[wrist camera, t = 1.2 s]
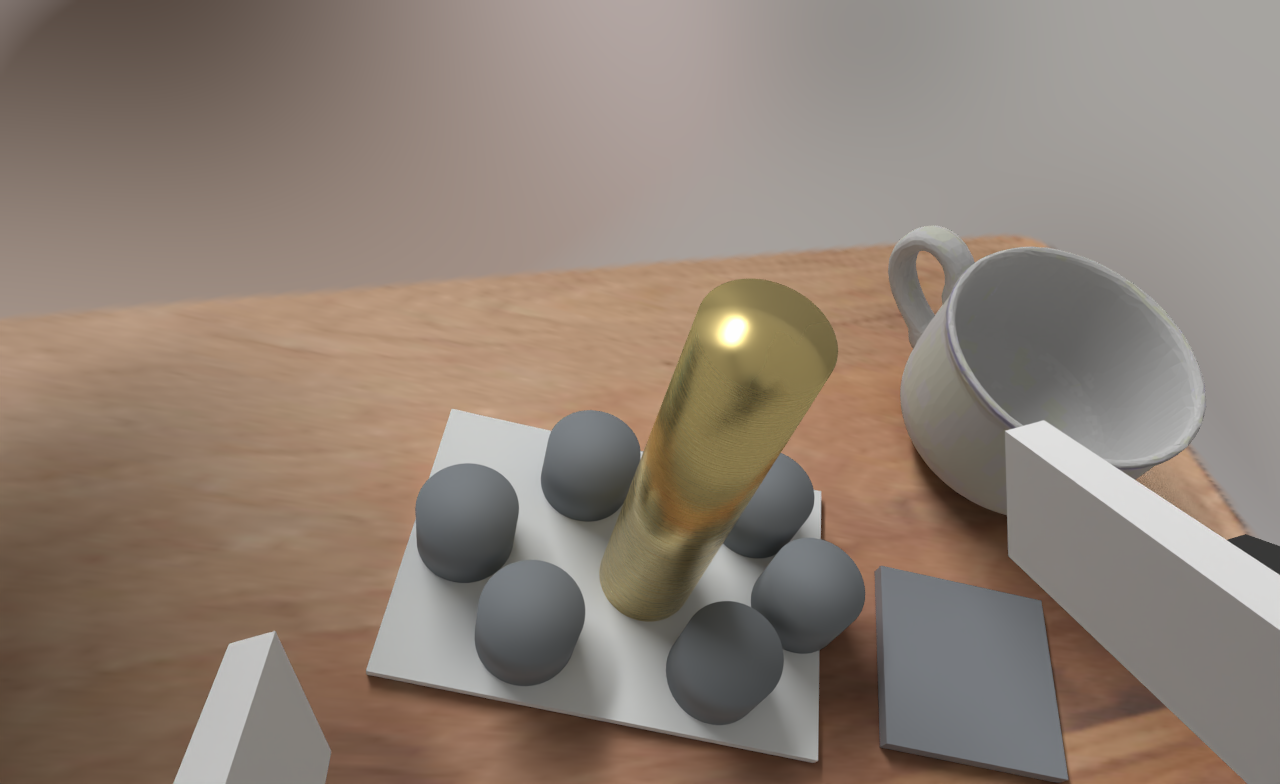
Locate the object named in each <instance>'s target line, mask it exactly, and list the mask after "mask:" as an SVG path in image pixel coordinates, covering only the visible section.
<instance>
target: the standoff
mask: <svg viewBox="0 0 1280 784" xmlns="http://www.w3.org/2000/svg"><path fill="white" fill-rule="evenodd" d="M837 356H838V346H837V340H836V336H835V333H834V331H833V328H832V326H831V325H830V323H829V321H828V320H827V318H826V317H825V315H824V314H823V313H822V312H821V311H820V309H819V308H818V307H817V306H816V305H815V304H813V303H812V302H811V301H810V300H809V299H807V298H806V297H805V296H803V295H802V294H800V293H798V292H797V291H795V290H793V289H791V288H789V287H786V286H784V285H781V284H779V283H775V282H772V281H767V280H761V279H740V280H734V281H730V282H727V283H724V284H722V285H720V286H718V287H716V288H715V289H713V290H712V291H711V292H710V293H709V294H708V295H707V296H706V297H705V298H704V299H703V301H702V303H701V304H700V307H699V309H698V312H697V314H696V317H695V319H694V322H693V325H692V327H691V330H690V332H689V335H688V338H687V340H686V343H685V345H684V348H683V351H682V353H681V356H680V358H679V361H678V364H677V366H676V369H675V371H674V374H673V376H672V379H671V382H670V384H669V387H668V389H667V392H666V395H665V397H664V400H663V402H662V405H661V408H660V410H659V413H658V415H657V418H656V421H655V423H654V426H653V428H652V431H651V433H650V436H649V439H648V441H647V444H646V446H645V449H644V452H643V454H642V457H641V459H640V462H639V465H638V467H637V470H636V472H635V475H634V478H633V480H632V483H631V485H630V488H629V490H628V493H627V496H626V498H625V501H624V503H623V506H622V509H621V511H620V514H619V516H618V519H617V522H616V524H615V527H614V529H613V532H612V535H611V537H610V540H609V542H608V545H607V547H606V550H605V553H604V555H603V558H602V560H601V564H600V571H599V576H600V583H601V587H602V590H603V592H604V594H605V596H606V598H607V599H608V601H609V602H610V603H611V604H612V605H613V606H614V607H615V608H616V609H617V610H618V611H619V612H621V613H622V614H624V615H626V616H627V617H630V618H632V619H635V620H639V621H647V622H652V621H659V620H663V619H666V618H668V617H670V616H672V615H673V614H675V613H676V612H677V611H679V610H680V608H681V607H682V606H683V605H684V603H685V602H686V600H687V599H688V597H689V596H690V594H691V593H692V591H693V589H694V588H695V586H696V585H697V583H698V582H699V580H700V579H701V577H702V575H703V574H704V572H705V571H706V569H707V568H708V566H709V564H710V563H711V561H712V560H713V558H714V557H715V555H716V553H717V552H718V550H719V549H720V547H721V546H722V544H723V542H724V541H725V539H726V538H727V536H728V535H729V533H730V531H731V530H732V528H733V527H734V525H735V524H736V522H737V520H738V519H739V517H740V516H741V514H742V513H743V511H744V509H745V508H746V506H747V505H748V503H749V502H750V500H751V499H752V497H753V495H754V494H755V492H756V491H757V489H758V488H759V486H760V484H761V483H762V481H763V480H764V478H765V477H766V475H767V473H768V472H769V470H770V469H771V467H772V466H773V464H774V462H775V461H776V459H777V458H778V456H779V455H780V453H781V451H782V450H783V448H784V447H785V445H786V444H787V442H788V440H789V439H790V437H791V436H792V434H793V433H794V431H795V429H796V428H797V426H798V425H799V423H800V422H801V420H802V419H803V417H804V415H805V414H806V412H807V411H808V409H809V408H810V406H811V404H812V403H813V401H814V400H815V398H816V397H817V395H818V393H819V392H820V390H821V389H822V387H823V386H824V384H825V382H826V381H827V379H828V378H829V376H830V375H831V373H832V371H833V369H834V367H835V365H836V361H837Z"/></svg>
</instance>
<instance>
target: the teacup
mask: <svg viewBox="0 0 1280 784" xmlns="http://www.w3.org/2000/svg"><path fill="white" fill-rule="evenodd" d="M919 251H927V252H929V253H931V254H932V255H933V256H935V257H936V258H937V260H938V261H939V262H940V264H941V265H942V267H943V270H944V274H945V286H944V289H943V293H942V303H943V304H942V307H941V308H940V309H939V311H938V312H937V313H936V315H934V313H933V311H932V310H931V308H930V306H929V304H928V303H927V301H926V299H925V297H924V294H923V292H922V289H921V287H920V283H919V280H918V276H917V271H916V258H917V255H918V253H919ZM888 274H889V282H890V286H891V290H892V294H893V296H894V299H895V301H896V304H897V306H898V308H899V310H900V312H901V314H902V316H903V318H904V320H905V323H906V325H907V327H908V333H909V342H910V344H911V346H912V348H913V351H912V352H911V354H910V357H909V359H908V361H907V363H906V366H905V369H904V373H903V376H902V382H901V389H900V399H901V409H902V414H903V419H904V422H905V425H906V429H907V431H908V434H909V436H910V438H911V440H912V442H913V444H914V446H915V448H916V450H917V451H918V453H919V454H920V456H921V457H922V459H923V460H924V461H925V463H926V464H927V465H928V466H929V468H930V469H931V470H932V471H933V472H934V473H935V474H936V475H937V476H938V477H939V478H940V479H941V480H942V481H943V482H944V483H945V484H947V485H948V486H949V487H951V488H952V489H953V490H954V491H956V492H957V493H959V494H960V495H962V496H963V497H965V498H967V499H968V500H970V501H972V502H974V503H976V504H978V505H980V506H982V507H984V508H987V509H989V510H992V511H994V512H998V513H1001V514H1004V515H1007V492H1006V455H1005V431H1006V430H1010V429H1014V428H1017V427H1021V426H1025V425H1028V424H1032V423H1036V422H1039V421H1043V420H1044V421H1046V422H1047V423H1049V424H1051V425H1052V426H1054V427H1055V428H1057V429H1058V430H1060V431H1061V432H1063V433H1064V434H1066V435H1067V436H1069V437H1070V438H1072V439H1073V440H1075V441H1076V442H1078V443H1079V444H1081V445H1083V446H1084V447H1086V448H1087V449H1089V450H1090V451H1092V452H1093V453H1095V454H1096V455H1098V456H1099V457H1101V458H1102V459H1104V460H1105V461H1107V462H1108V463H1110V464H1111V465H1113V466H1114V467H1116V468H1118V469H1119V470H1121V471H1122V472H1124V473H1125V474H1127V475H1128V476H1130V477H1131V478H1133V479H1134V480H1135V479H1137V478H1138V477H1140V476H1141V475H1143V474H1144V473H1145V472H1147V471H1148V470H1150V469H1151V468H1152V467H1154V466H1155V465H1158V464H1161V463H1163V462H1165V461H1168V460H1170V459H1171V458H1173V457H1174V456H1176V455H1178V454H1179V453H1180V452H1181V451H1183V450H1184V449H1185V448H1186V447H1187V446H1188V445H1189V444H1190V443H1191V441H1192V440H1193V439H1194V438H1195V436H1196V434H1197V433H1198V431H1199V429H1200V426H1201V424H1202V421H1203V417H1204V412H1205V408H1206V396H1205V385H1204V381H1203V376H1202V374H1201V370H1200V367H1199V364H1198V362H1197V360H1196V358H1195V355H1194V353H1193V351H1192V348H1191V346H1190V344H1189V343H1188V341H1187V340H1186V338H1185V337H1184V335H1183V333H1182V331H1181V330H1180V329H1179V328H1178V327H1177V326H1176V324H1175V323H1174V321H1173V320H1172V319H1171V318H1170V316H1169V315H1168V314H1167V312H1166V311H1164V310H1163V309H1162V308H1161V307H1160V306H1159V305H1158V304H1157V302H1156V301H1154V300H1153V299H1152V298H1151V297H1150V296H1149V295H1147V294H1146V293H1145V292H1143V291H1142V290H1141V289H1140V288H1138V287H1137V286H1136V285H1135V284H1134V283H1132V282H1130V281H1128V280H1126V279H1125V278H1124V277H1122V276H1121V275H1119V274H1117V273H1116V272H1115V271H1113V270H1111V269H1109V268H1107V267H1105V266H1103V265H1101V264H1099V263H1097V262H1095V261H1093V260H1090V259H1088V258H1085V257H1082V256H1079V255H1076V254H1072V253H1069V252H1065V251H1062V250H1057V249H1051V248H1039V247H1019V248H1013V249H1008V250H1003V251H1000V252H997V253H994V254H991V255H988V256H986V257H984V258H982V259H980V260H978V261H977V262H974V259H973V256H972V255H971V253H970V251H969V249H968V247H967V245H966V244H965V243H964V242H963V241H962V239H961V238H960V237H959V236H958V235H956V234H955V233H954V232H952V231H951V230H949V229H946V228H943V227H939V226H925V227H921V228H918V229H915V230H913V231H912V232H910V233H909V234H907V235H906V236H905V237H903V238H902V239H901V240H900V241H899V242H898V243H897V244H896V245H895V247H894V250H893V252H892V254H891V256H890V259H889V268H888Z"/></svg>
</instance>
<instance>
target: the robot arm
mask: <svg viewBox="0 0 1280 784" xmlns="http://www.w3.org/2000/svg"><path fill="white" fill-rule="evenodd" d="M1005 455H1006V492H1007V528H1008V556H1009V557H1010V558H1011V559H1012V560H1013V561H1014V562H1015V563H1016V564H1017V565H1018V566H1019V567H1020V568H1021V569H1022V570H1023V571H1024V572H1026V573H1027V574H1028V575H1029V576H1030V577H1031V578H1032V579H1033V580H1034V581H1035V582H1036V583H1037V584H1038V585H1039V586H1040V587H1041V588H1042V589H1043V590H1044V591H1046V592H1047V593H1048V594H1049V595H1050V596H1051V597H1052V598H1053V599H1054V600H1055V601H1056V602H1057V603H1058V604H1059V605H1060V606H1061V607H1062V608H1063V609H1064V610H1065V611H1067V612H1068V613H1069V614H1070V615H1071V616H1072V617H1073V618H1074V619H1075V620H1076V621H1077V622H1078V623H1079V624H1080V625H1081V626H1082V627H1083V628H1084V629H1085V630H1086V631H1088V632H1089V633H1090V634H1091V635H1092V636H1093V637H1094V638H1095V639H1096V640H1097V641H1098V642H1099V643H1100V644H1101V645H1102V646H1103V647H1104V648H1105V649H1106V650H1107V651H1109V652H1110V653H1111V654H1112V655H1113V656H1114V657H1115V658H1116V659H1117V660H1118V661H1119V662H1120V663H1121V664H1122V665H1123V666H1124V667H1125V668H1126V669H1127V670H1129V671H1130V672H1131V673H1132V674H1133V675H1134V676H1135V677H1136V678H1137V679H1138V680H1139V681H1140V682H1141V683H1142V684H1143V685H1144V686H1145V687H1146V688H1147V689H1148V690H1150V691H1151V692H1152V693H1153V694H1154V695H1155V696H1156V697H1157V698H1158V699H1159V700H1160V701H1161V702H1162V703H1163V704H1164V705H1165V706H1166V707H1167V708H1168V709H1169V710H1171V711H1172V712H1173V713H1174V714H1175V715H1176V716H1177V717H1178V718H1179V719H1180V720H1181V721H1182V722H1183V723H1184V724H1185V725H1186V726H1187V727H1188V728H1189V729H1190V730H1192V731H1193V732H1194V733H1195V734H1196V735H1197V736H1198V737H1199V738H1200V739H1201V740H1202V741H1203V742H1204V743H1205V744H1206V745H1207V746H1208V747H1209V748H1210V749H1211V750H1213V751H1214V752H1215V753H1216V754H1217V755H1218V756H1219V757H1220V758H1221V759H1222V760H1223V761H1224V762H1225V763H1226V764H1227V765H1228V766H1229V767H1230V768H1231V769H1233V770H1234V771H1235V772H1236V773H1237V774H1238V775H1239V776H1240V777H1241V778H1242V779H1243V780H1244V781H1245V782H1246V783H1247V784H1280V546H1277V545H1275V544H1272V543H1269V542H1266V541H1263V540H1261V539H1258V538H1255V537H1252V536H1249V535H1246V534H1245V535H1242V536H1238V537H1235V538H1232V539H1228V540H1226V539H1224V538H1223V537H1221V536H1220V535H1218V534H1217V533H1215V532H1213V531H1212V530H1210V529H1209V528H1207V527H1206V526H1204V525H1203V524H1201V523H1200V522H1198V521H1197V520H1195V519H1194V518H1192V517H1191V516H1189V515H1188V514H1186V513H1185V512H1183V511H1181V510H1180V509H1178V508H1177V507H1175V506H1174V505H1172V504H1171V503H1169V502H1168V501H1166V500H1165V499H1163V498H1162V497H1160V496H1159V495H1157V494H1156V493H1154V492H1153V491H1151V490H1150V489H1148V488H1146V487H1145V486H1143V485H1142V484H1140V483H1139V482H1137V481H1136V480H1134V479H1133V478H1131V477H1130V476H1128V475H1127V474H1125V473H1124V472H1122V471H1121V470H1119V469H1118V468H1116V467H1114V466H1113V465H1111V464H1110V463H1108V462H1107V461H1105V460H1104V459H1102V458H1101V457H1099V456H1098V455H1096V454H1095V453H1093V452H1092V451H1090V450H1089V449H1087V448H1086V447H1084V446H1083V445H1081V444H1079V443H1078V442H1076V441H1075V440H1073V439H1072V438H1070V437H1069V436H1067V435H1066V434H1064V433H1063V432H1061V431H1060V430H1058V429H1057V428H1055V427H1054V426H1052V425H1051V424H1049V423H1047V422H1046V421H1044V420H1043V421H1039V422H1036V423H1032V424H1028V425H1025V426H1021V427H1017V428H1014V429H1010V430H1006V431H1005ZM330 756H331V750H330V747H329V745H328V743H327V741H326V739H325V737H324V734H323V732H322V730H321V728H320V726H319V724H318V722H317V719H316V717H315V715H314V713H313V711H312V709H311V707H310V704H309V702H308V700H307V698H306V696H305V694H304V691H303V689H302V687H301V685H300V683H299V681H298V679H297V676H296V674H295V672H294V670H293V668H292V666H291V664H290V661H289V659H288V657H287V655H286V653H285V651H284V648H283V646H282V644H281V642H280V640H279V638H278V636H277V633H276V631H273V632H270V633H266V634H263V635H259V636H255V637H252V638H248V639H244V640H241V641H237V642H233V643H230V644H229V645H228V648H227V650H226V653H225V655H224V658H223V660H222V663H221V665H220V668H219V670H218V673H217V675H216V678H215V680H214V683H213V685H212V688H211V690H210V693H209V695H208V698H207V700H206V703H205V705H204V708H203V710H202V713H201V715H200V718H199V720H198V723H197V725H196V728H195V730H194V733H193V735H192V738H191V740H190V743H189V745H188V748H187V751H186V753H185V756H184V758H183V761H182V763H181V766H180V768H179V771H178V773H177V776H176V778H175V781H174V783H173V784H325V782H326V776H327V771H328V766H329V761H330Z"/></svg>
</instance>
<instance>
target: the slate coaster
mask: <svg viewBox="0 0 1280 784" xmlns="http://www.w3.org/2000/svg"><path fill="white" fill-rule="evenodd" d="M875 597H876V632H877V666H878V700H879V734H880V747H881V748H886V749H891V750H896V751H901V752H906V753H911V754H916V755H921V756H926V757H931V758H936V759H941V760H946V761H951V762H956V763H961V764H966V765H970V766H975V767H980V768H985V769H990V770H995V771H1000V772H1005V773H1010V774H1015V775H1020V776H1025V777H1030V778H1035V779H1040V780H1045V781H1050V782H1055V783H1061V782H1064V781H1067V780H1068V774H1067V768H1066V761H1065V754H1064V748H1063V741H1062V735H1061V728H1060V721H1059V715H1058V708H1057V701H1056V695H1055V688H1054V682H1053V675H1052V668H1051V662H1050V655H1049V648H1048V642H1047V635H1046V629H1045V622H1044V615H1043V609H1042V602H1041V600H1036V599H1031V598H1027V597H1022V596H1018V595H1013V594H1008V593H1004V592H999V591H995V590H990V589H985V588H981V587H976V586H972V585H967V584H963V583H958V582H953V581H949V580H944V579H940V578H935V577H930V576H926V575H921V574H917V573H912V572H907V571H903V570H898V569H894V568H889V567H885V566H880V567H879V568H878V569H877V570H876V571H875Z"/></svg>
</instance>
